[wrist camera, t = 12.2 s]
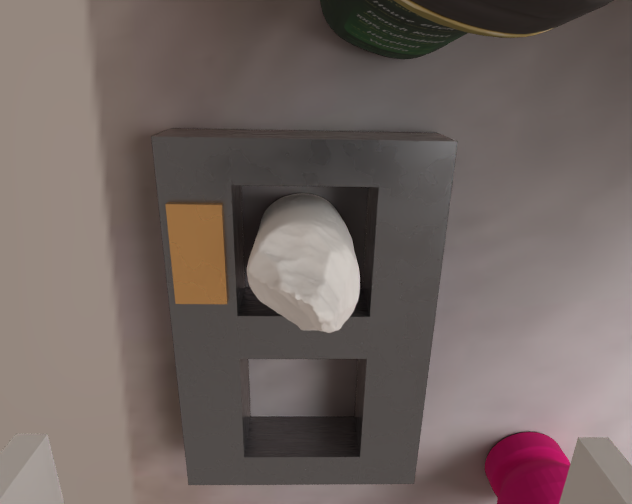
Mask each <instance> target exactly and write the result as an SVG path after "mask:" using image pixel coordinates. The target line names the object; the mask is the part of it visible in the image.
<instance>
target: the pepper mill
mask: <svg viewBox="0 0 632 504" xmlns="http://www.w3.org/2000/svg"><path fill="white" fill-rule="evenodd" d="M569 468H570V462H569V460H568V458H567V457H566V456H565V454H564V453H563V451H562V450H561V448H560V447H559V445H558V444H557V443H556V442H555V441H554V440H553V439H552V438H550V437H549V436H547V435H544V434H541V433H536V432H522V433H518V434H514V435H511V436H508V437H506V438H505V439H503V440H501V441H500V442H498V443H497V444H496V445H495V446H494V447H493V448H492V449H491V451H490V452H489V454H488V456H487V458H486V462H485V472H486V476H487V478H488V480H489V482H490V484H491V487H492V489H493V491H494V493H495V494H496V496H497V497H498V500H497V504H559V502H560V499H561V495H562V492H563V488H564V485H565V482H566V478H567V475H568V471H569Z"/></svg>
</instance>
